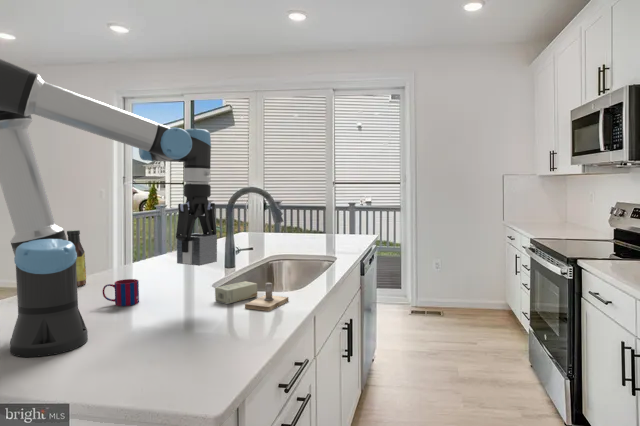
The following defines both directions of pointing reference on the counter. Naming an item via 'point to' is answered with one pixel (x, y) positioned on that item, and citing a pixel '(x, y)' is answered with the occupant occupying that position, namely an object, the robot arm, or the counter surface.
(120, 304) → the mug
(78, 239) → the sauce bottle
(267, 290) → the block
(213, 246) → the hollow grey cube box
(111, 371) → the counter surface
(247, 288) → the skincare box
